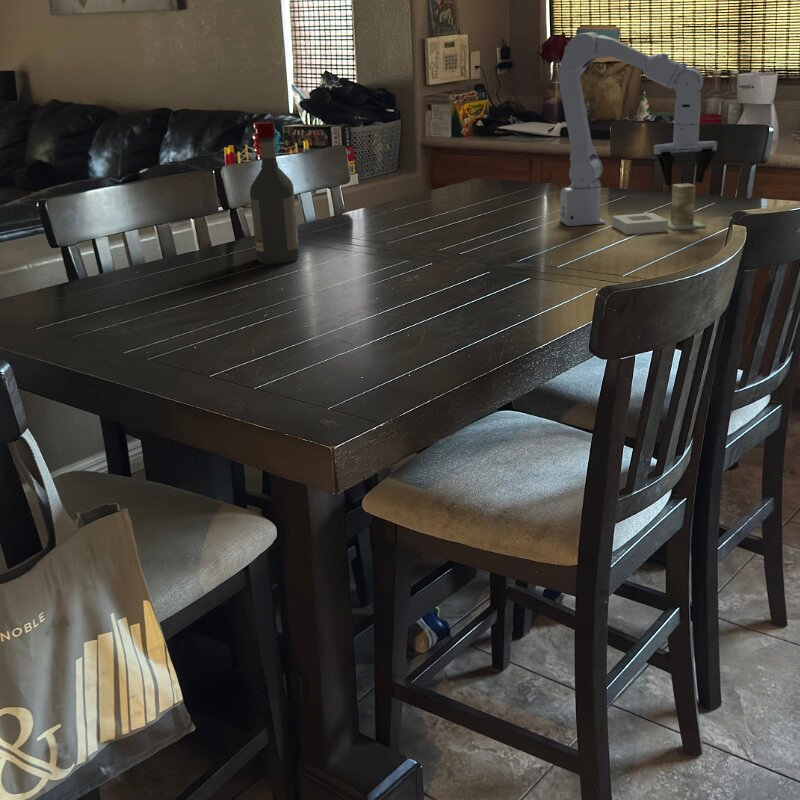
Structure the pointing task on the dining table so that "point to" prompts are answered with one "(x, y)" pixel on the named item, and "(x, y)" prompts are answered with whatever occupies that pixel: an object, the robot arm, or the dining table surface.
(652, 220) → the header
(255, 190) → the liquor
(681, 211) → the plug
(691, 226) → the mat
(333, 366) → the dining table surface
